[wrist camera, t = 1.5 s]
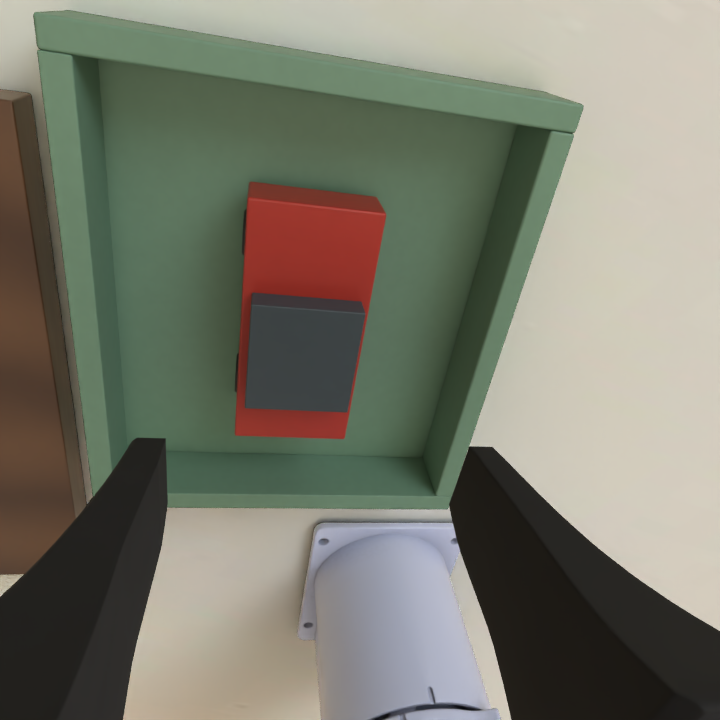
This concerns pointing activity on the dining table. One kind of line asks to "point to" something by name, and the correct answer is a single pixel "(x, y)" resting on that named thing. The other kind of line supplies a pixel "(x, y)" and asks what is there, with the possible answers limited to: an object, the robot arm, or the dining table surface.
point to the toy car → (303, 308)
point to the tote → (225, 260)
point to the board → (31, 359)
